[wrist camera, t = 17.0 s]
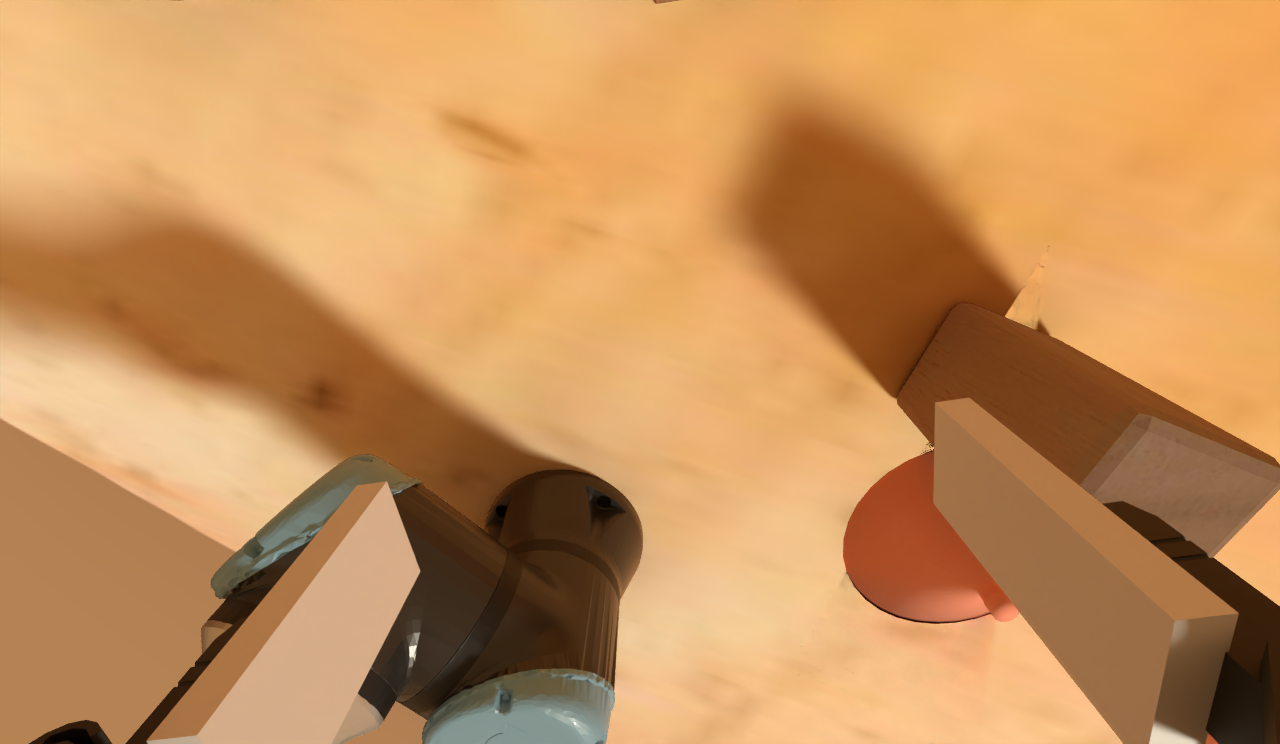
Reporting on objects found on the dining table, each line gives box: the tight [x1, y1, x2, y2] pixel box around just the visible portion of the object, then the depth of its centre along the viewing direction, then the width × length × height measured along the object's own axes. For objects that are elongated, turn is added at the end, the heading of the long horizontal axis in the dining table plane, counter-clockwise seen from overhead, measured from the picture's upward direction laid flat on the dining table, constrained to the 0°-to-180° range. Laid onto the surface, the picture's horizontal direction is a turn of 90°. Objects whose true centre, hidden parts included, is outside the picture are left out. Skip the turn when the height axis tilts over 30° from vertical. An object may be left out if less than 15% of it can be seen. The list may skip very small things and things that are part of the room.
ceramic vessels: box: [843, 450, 1218, 744], centre depth 49 cm, size 35×21×19 cm, turn 63°
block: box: [897, 303, 1280, 558], centre depth 40 cm, size 10×10×20 cm
